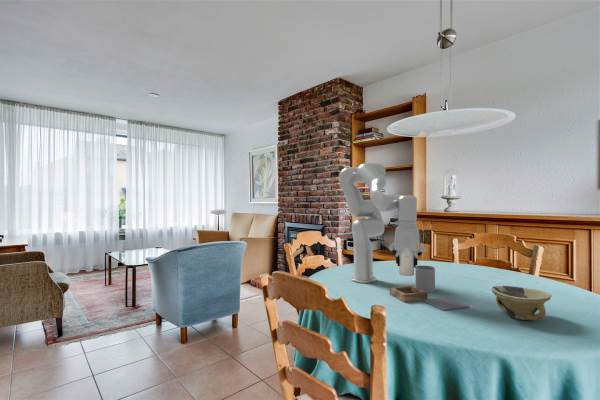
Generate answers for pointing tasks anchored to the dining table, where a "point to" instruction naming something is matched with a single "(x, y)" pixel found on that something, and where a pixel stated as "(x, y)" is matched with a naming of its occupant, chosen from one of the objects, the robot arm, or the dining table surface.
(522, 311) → the bowl
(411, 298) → the tray
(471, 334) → the dining table surface
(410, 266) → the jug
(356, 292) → the dining table surface
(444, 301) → the coaster
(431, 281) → the cup
